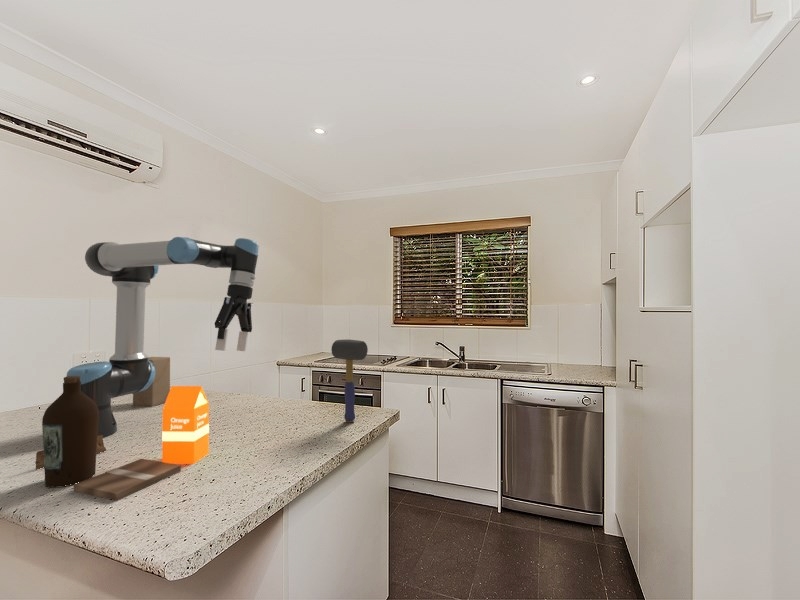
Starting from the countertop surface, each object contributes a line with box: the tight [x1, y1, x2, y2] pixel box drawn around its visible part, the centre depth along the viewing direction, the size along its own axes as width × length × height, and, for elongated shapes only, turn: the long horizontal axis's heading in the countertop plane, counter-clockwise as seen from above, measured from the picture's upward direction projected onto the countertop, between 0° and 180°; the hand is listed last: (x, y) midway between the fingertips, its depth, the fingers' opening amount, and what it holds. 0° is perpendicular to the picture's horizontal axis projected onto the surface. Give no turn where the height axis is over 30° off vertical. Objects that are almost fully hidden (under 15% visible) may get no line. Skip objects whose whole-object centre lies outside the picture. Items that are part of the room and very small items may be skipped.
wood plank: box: [35, 434, 107, 471], centre depth 106 cm, size 15×2×5 cm, turn 153°
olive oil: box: [41, 376, 99, 488], centre depth 95 cm, size 11×11×25 cm
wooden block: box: [132, 356, 171, 408], centre depth 170 cm, size 10×10×20 cm
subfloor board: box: [73, 458, 182, 502], centre depth 93 cm, size 14×16×2 cm
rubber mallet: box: [331, 338, 369, 423], centre depth 141 cm, size 12×8×30 cm, turn 59°
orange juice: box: [161, 385, 210, 465], centre depth 107 cm, size 8×9×20 cm
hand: (231, 350), depth 124 cm, fingers open, 13 cm apart
